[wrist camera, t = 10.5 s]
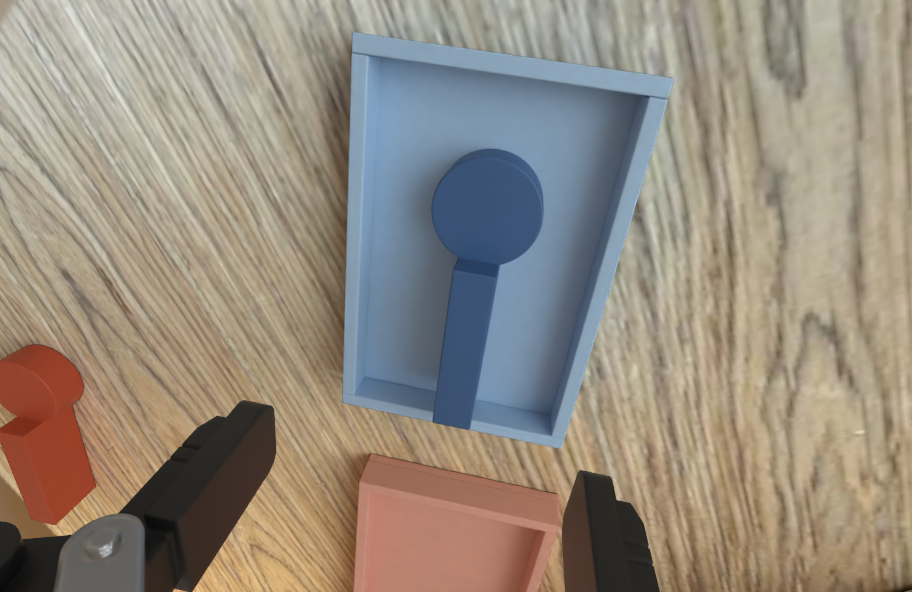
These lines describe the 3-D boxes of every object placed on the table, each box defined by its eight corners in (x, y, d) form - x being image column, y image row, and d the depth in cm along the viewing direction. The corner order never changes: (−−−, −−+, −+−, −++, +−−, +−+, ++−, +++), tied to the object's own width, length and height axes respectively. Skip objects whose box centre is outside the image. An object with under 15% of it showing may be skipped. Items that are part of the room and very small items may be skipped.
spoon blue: (503, 392, 22) (498, 437, 20) (419, 375, 23) (403, 417, 20) (553, 157, 17) (556, 173, 15) (446, 140, 18) (429, 153, 15)
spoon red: (113, 490, 31) (73, 530, 28) (57, 477, 31) (12, 515, 29) (75, 351, 26) (22, 384, 24) (9, 337, 27) (-50, 368, 24)
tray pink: (507, 652, 32) (505, 687, 30) (360, 616, 33) (350, 648, 31) (558, 494, 25) (559, 526, 23) (371, 453, 26) (358, 481, 24)
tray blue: (559, 420, 23) (561, 449, 21) (356, 378, 24) (341, 403, 22) (660, 76, 16) (675, 78, 14) (370, 35, 17) (351, 31, 15)
